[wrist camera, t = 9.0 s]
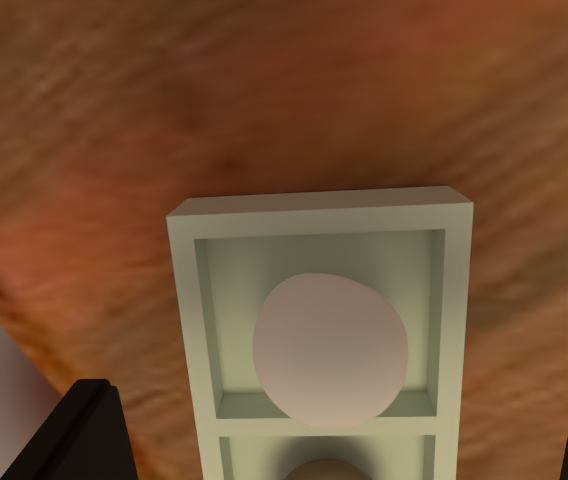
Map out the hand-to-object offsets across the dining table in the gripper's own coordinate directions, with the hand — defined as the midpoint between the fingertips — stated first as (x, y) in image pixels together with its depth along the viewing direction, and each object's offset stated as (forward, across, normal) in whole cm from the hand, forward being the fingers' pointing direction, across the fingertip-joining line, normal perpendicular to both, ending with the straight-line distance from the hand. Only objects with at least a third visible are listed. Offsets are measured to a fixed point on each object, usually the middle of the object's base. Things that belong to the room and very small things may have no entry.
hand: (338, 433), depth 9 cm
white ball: (+8, 0, +1) cm, 8 cm away
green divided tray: (+9, 0, +5) cm, 10 cm away
